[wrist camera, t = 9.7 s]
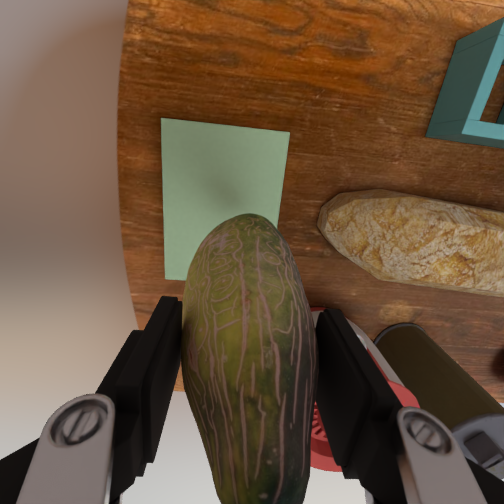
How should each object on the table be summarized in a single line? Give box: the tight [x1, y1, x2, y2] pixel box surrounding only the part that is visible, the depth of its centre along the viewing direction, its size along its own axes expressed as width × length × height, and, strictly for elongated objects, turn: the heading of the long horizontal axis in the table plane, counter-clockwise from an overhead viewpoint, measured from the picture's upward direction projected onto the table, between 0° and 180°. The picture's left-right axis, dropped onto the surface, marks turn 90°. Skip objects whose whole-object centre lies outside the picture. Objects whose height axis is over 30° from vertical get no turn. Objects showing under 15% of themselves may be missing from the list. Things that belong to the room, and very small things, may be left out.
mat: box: [161, 118, 290, 280], centre depth 36 cm, size 22×16×1 cm
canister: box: [373, 323, 504, 479], centre depth 38 cm, size 11×10×20 cm
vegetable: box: [181, 213, 319, 504], centre depth 14 cm, size 6×6×20 cm
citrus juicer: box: [310, 307, 420, 472], centre depth 35 cm, size 16×17×20 cm
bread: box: [317, 189, 504, 297], centre depth 35 cm, size 36×11×10 cm, turn 80°
